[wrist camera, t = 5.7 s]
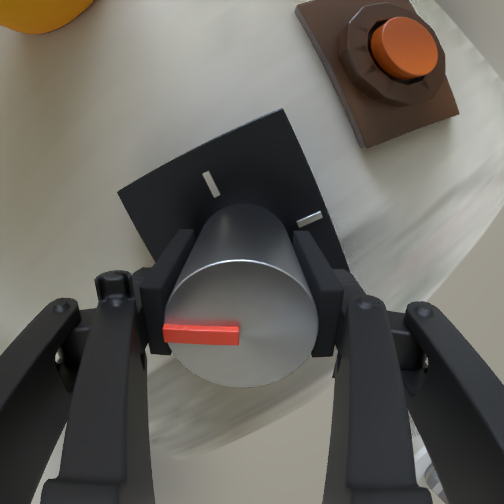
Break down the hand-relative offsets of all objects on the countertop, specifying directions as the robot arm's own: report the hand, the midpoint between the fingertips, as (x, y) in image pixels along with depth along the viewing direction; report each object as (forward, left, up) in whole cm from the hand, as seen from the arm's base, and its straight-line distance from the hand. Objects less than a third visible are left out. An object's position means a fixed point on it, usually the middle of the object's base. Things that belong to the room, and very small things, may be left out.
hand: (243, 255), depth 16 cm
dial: (0, 0, -1) cm, 1 cm away
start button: (+7, -13, -2) cm, 15 cm away
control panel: (0, 0, -4) cm, 4 cm away
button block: (+7, -13, -4) cm, 15 cm away
